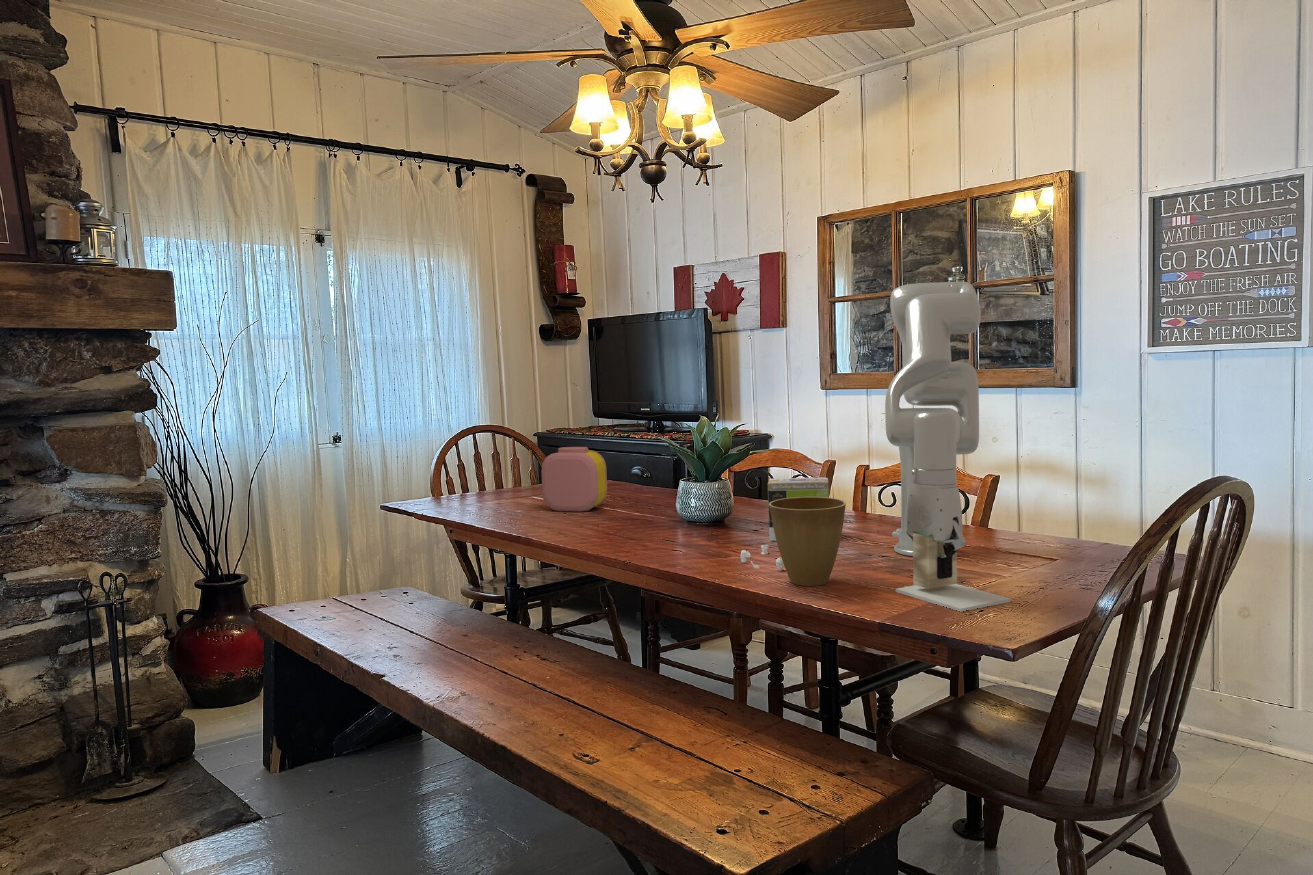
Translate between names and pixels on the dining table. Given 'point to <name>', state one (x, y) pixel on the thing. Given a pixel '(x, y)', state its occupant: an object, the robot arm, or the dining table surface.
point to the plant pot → (808, 536)
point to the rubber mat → (954, 596)
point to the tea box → (794, 492)
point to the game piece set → (764, 551)
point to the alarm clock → (574, 479)
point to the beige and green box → (929, 562)
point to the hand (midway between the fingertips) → (935, 574)
